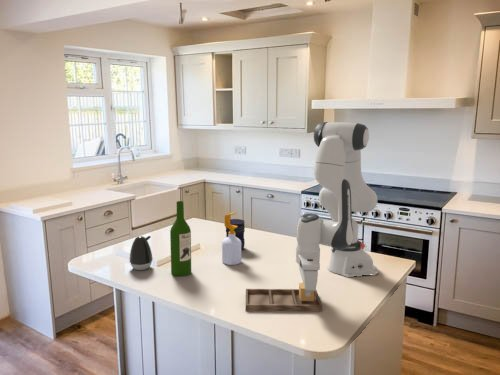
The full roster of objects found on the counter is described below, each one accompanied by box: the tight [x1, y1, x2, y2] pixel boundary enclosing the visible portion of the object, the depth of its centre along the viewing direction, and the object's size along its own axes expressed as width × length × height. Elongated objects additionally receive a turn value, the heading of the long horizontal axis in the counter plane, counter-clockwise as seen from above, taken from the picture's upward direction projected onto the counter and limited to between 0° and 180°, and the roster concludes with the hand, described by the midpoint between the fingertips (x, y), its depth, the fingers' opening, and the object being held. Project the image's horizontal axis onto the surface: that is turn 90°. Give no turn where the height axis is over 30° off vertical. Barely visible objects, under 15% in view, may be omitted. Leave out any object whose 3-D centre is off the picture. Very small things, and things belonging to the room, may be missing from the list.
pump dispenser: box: [129, 235, 154, 271], centre depth 190 cm, size 10×10×15 cm
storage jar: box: [225, 218, 246, 252], centre depth 218 cm, size 10×10×15 cm
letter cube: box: [298, 282, 314, 301], centre depth 159 cm, size 5×5×5 cm
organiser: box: [245, 288, 323, 312], centre depth 159 cm, size 28×14×2 cm, turn 90°
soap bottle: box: [221, 211, 242, 266], centre depth 199 cm, size 9×9×25 cm
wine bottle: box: [169, 200, 192, 277], centre depth 184 cm, size 9×9×32 cm
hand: (306, 291), depth 159 cm, fingers closed on letter cube, 5 cm apart
